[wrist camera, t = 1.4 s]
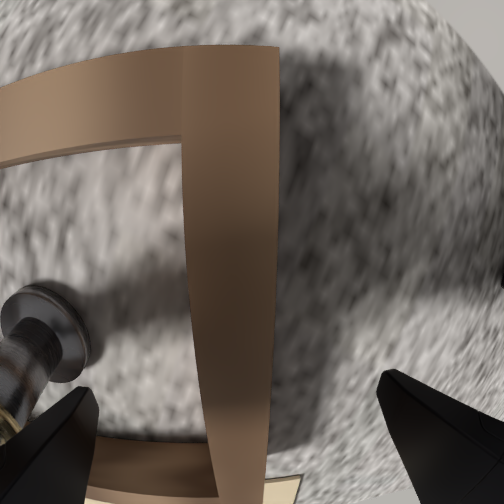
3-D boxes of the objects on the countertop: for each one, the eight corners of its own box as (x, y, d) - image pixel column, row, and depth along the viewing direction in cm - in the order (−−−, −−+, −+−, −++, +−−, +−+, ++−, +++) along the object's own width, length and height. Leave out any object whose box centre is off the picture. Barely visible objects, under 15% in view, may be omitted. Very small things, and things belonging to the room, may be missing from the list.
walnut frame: (257, 82, 9) (278, 46, 5) (254, 459, 14) (262, 508, 11) (-87, 159, 7) (-130, 169, 3) (-2, 427, 12) (-19, 460, 9)
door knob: (76, 286, 10) (-8, 389, 4) (101, 376, 11) (62, 485, 6) (-2, 284, 9) (-85, 359, 4) (27, 366, 11) (-25, 452, 5)
